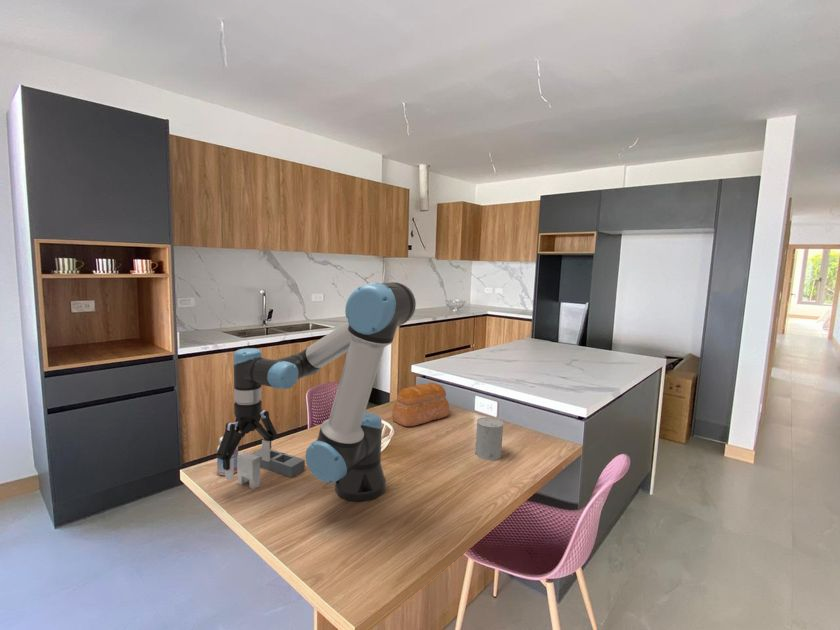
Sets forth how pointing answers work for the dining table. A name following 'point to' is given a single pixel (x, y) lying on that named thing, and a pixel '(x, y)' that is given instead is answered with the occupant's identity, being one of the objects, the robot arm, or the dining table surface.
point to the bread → (420, 404)
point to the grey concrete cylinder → (489, 438)
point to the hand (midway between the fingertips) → (248, 469)
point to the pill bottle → (220, 462)
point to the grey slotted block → (282, 463)
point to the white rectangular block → (248, 469)
